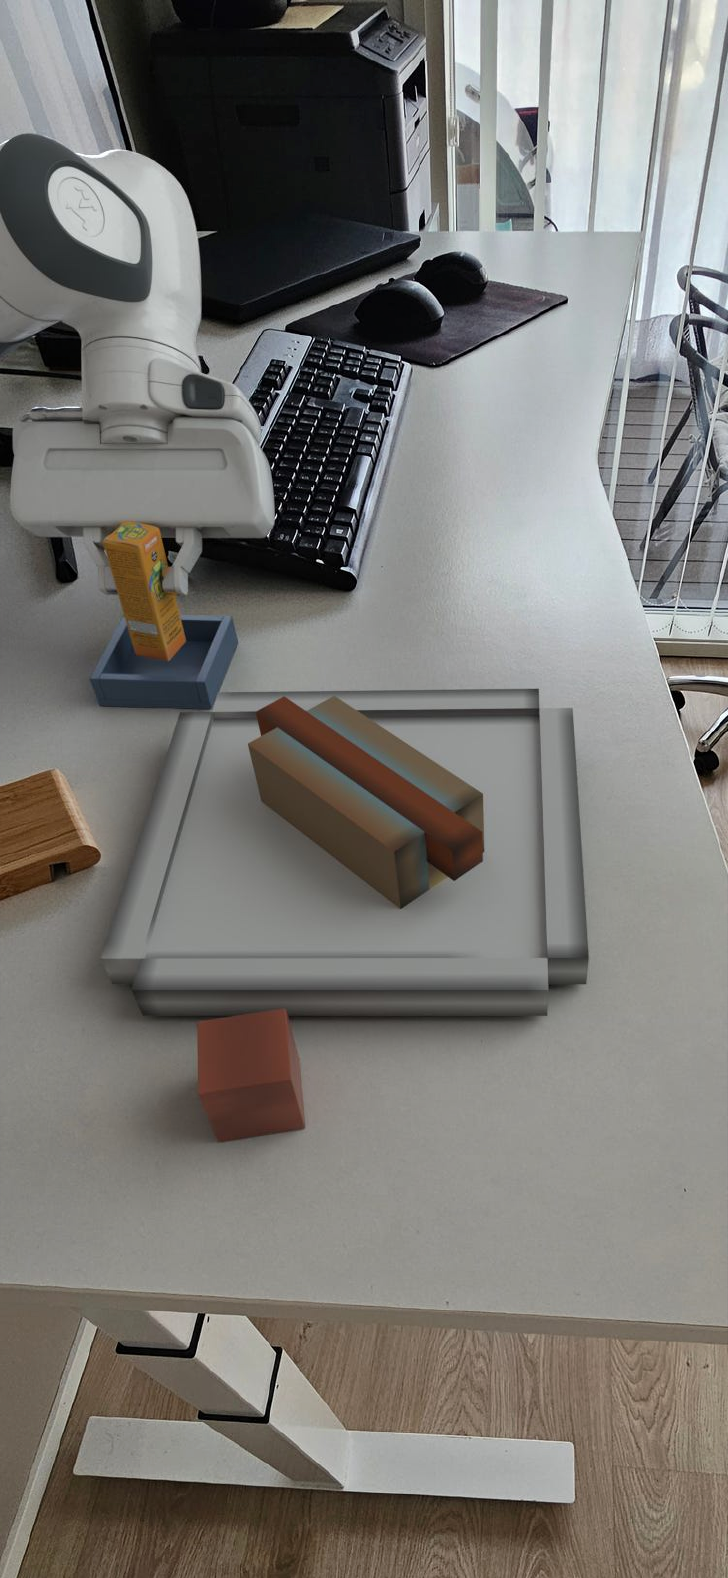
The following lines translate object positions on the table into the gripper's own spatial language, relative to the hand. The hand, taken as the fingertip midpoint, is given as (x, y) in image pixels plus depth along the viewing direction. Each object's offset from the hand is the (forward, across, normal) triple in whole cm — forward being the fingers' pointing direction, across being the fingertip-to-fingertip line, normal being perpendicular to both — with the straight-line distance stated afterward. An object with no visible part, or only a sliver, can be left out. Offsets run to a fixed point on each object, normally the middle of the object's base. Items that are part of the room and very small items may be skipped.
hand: (143, 593), depth 82 cm
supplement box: (+4, 0, +4) cm, 6 cm away
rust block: (+35, +16, -24) cm, 45 cm away
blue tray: (+5, 0, +6) cm, 8 cm away
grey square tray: (+20, +20, -9) cm, 30 cm away
